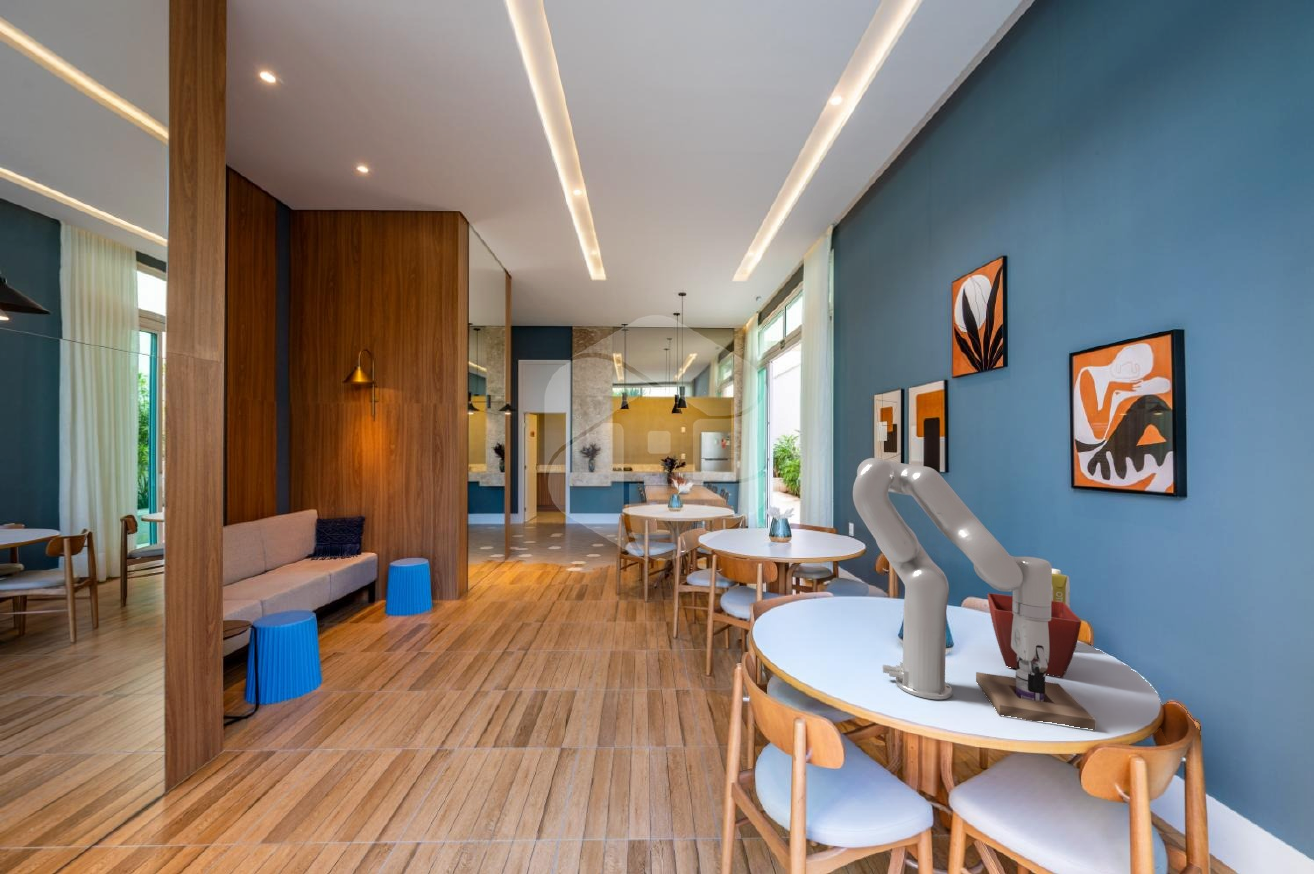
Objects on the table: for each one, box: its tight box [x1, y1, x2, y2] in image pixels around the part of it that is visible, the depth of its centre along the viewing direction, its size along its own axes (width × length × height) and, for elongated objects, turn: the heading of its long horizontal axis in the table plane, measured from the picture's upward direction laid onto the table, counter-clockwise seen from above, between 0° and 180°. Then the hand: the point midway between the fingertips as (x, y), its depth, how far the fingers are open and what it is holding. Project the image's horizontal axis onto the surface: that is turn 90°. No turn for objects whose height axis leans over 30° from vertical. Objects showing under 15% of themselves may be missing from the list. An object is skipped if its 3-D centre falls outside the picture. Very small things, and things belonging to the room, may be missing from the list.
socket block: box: [975, 671, 1097, 732], centre depth 122 cm, size 18×18×2 cm
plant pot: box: [987, 592, 1082, 678], centre depth 145 cm, size 19×19×17 cm
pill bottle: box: [1015, 660, 1044, 702], centre depth 122 cm, size 5×5×10 cm
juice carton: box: [1051, 567, 1071, 608], centre depth 160 cm, size 9×8×24 cm
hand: (1030, 684), depth 122 cm, fingers open, 6 cm apart
